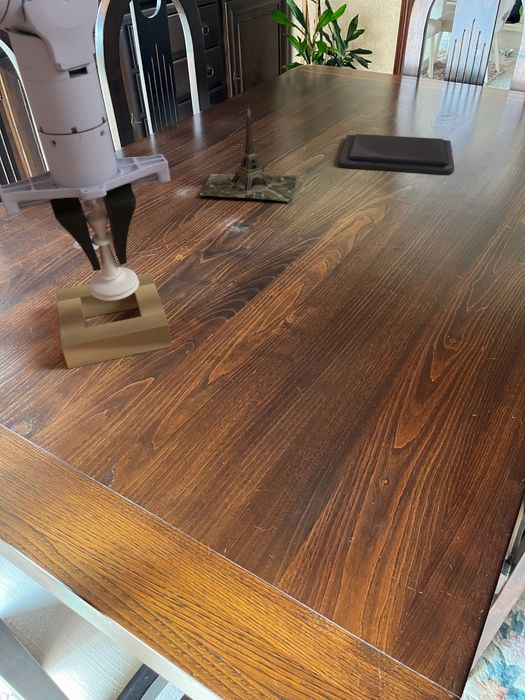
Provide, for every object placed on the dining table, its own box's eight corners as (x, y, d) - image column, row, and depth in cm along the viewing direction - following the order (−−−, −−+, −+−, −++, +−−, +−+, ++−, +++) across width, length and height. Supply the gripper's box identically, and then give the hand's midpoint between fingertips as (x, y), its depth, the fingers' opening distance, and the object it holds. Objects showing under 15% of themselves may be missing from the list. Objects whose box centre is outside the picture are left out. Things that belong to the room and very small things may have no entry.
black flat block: (336, 156, 96) (347, 127, 107) (335, 167, 97) (346, 137, 109) (455, 165, 92) (454, 134, 104) (453, 176, 94) (452, 144, 105)
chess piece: (110, 267, 59) (87, 180, 52) (148, 278, 57) (129, 189, 51) (80, 293, 56) (51, 203, 49) (120, 306, 54) (96, 214, 47)
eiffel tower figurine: (197, 199, 88) (189, 112, 80) (211, 174, 96) (204, 92, 87) (291, 204, 87) (292, 115, 78) (297, 177, 94) (299, 94, 86)
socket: (62, 310, 66) (56, 289, 64) (154, 292, 68) (150, 272, 66) (68, 369, 58) (61, 347, 56) (172, 346, 60) (168, 324, 58)
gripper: (-19, 156, 41) (37, 303, 50) (169, 122, 45) (190, 264, 54) (-23, 126, 46) (29, 265, 55) (148, 97, 50) (170, 231, 59)
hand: (108, 262), depth 55 cm, fingers closed on chess piece
